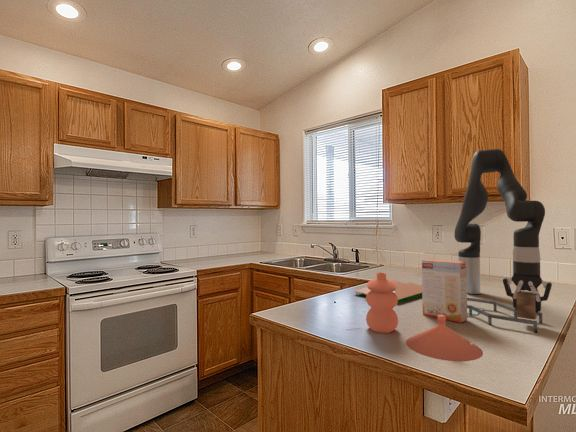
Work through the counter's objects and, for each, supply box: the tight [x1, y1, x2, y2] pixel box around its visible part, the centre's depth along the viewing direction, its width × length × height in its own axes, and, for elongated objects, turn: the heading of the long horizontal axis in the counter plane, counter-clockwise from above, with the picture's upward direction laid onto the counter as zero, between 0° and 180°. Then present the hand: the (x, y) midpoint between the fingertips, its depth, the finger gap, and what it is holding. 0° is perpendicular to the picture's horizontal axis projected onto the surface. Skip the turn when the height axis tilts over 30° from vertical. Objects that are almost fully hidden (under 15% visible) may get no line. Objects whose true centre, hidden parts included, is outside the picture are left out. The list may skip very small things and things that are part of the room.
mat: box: [467, 307, 485, 316], centre depth 136 cm, size 10×11×1 cm
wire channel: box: [467, 297, 544, 334], centre depth 128 cm, size 32×22×4 cm
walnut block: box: [517, 290, 538, 321], centre depth 116 cm, size 5×5×8 cm
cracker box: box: [421, 258, 468, 324], centre depth 126 cm, size 14×6×21 cm, turn 41°
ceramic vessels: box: [365, 272, 484, 362], centre depth 103 cm, size 35×21×19 cm, turn 41°
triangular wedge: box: [353, 279, 422, 305], centre depth 161 cm, size 23×33×8 cm
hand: (527, 310), depth 116 cm, fingers closed on walnut block, 5 cm apart
